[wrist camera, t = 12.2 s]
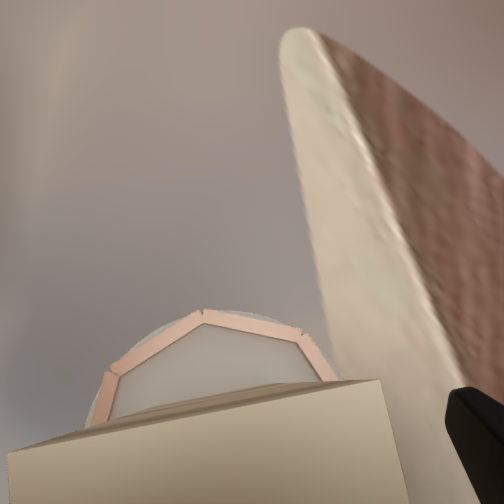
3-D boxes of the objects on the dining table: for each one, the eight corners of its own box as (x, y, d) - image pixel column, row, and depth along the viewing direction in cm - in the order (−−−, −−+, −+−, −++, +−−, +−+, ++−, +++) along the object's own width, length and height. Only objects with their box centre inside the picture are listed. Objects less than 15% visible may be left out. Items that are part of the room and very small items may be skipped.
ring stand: (177, 687, 17) (175, 703, 17) (31, 410, 20) (22, 411, 19) (418, 491, 20) (427, 496, 19) (263, 264, 22) (265, 259, 21)
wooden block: (296, 512, 19) (491, 832, 5) (170, 540, 18) (33, 976, 5) (272, 383, 20) (379, 379, 7) (153, 406, 20) (6, 453, 6)
